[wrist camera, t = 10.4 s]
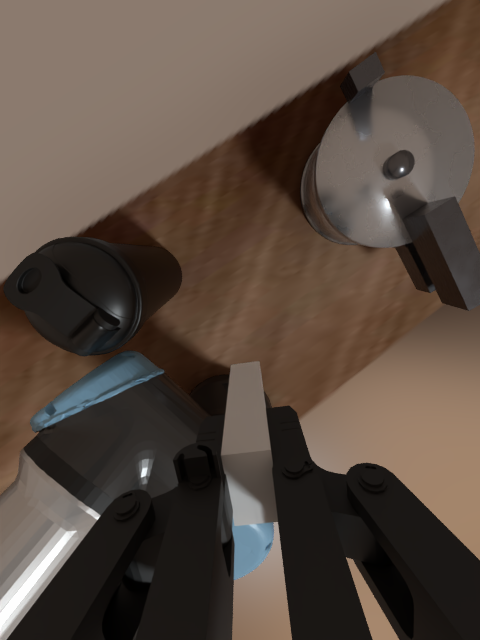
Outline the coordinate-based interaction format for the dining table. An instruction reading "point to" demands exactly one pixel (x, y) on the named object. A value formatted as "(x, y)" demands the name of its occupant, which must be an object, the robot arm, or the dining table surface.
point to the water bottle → (92, 291)
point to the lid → (402, 175)
